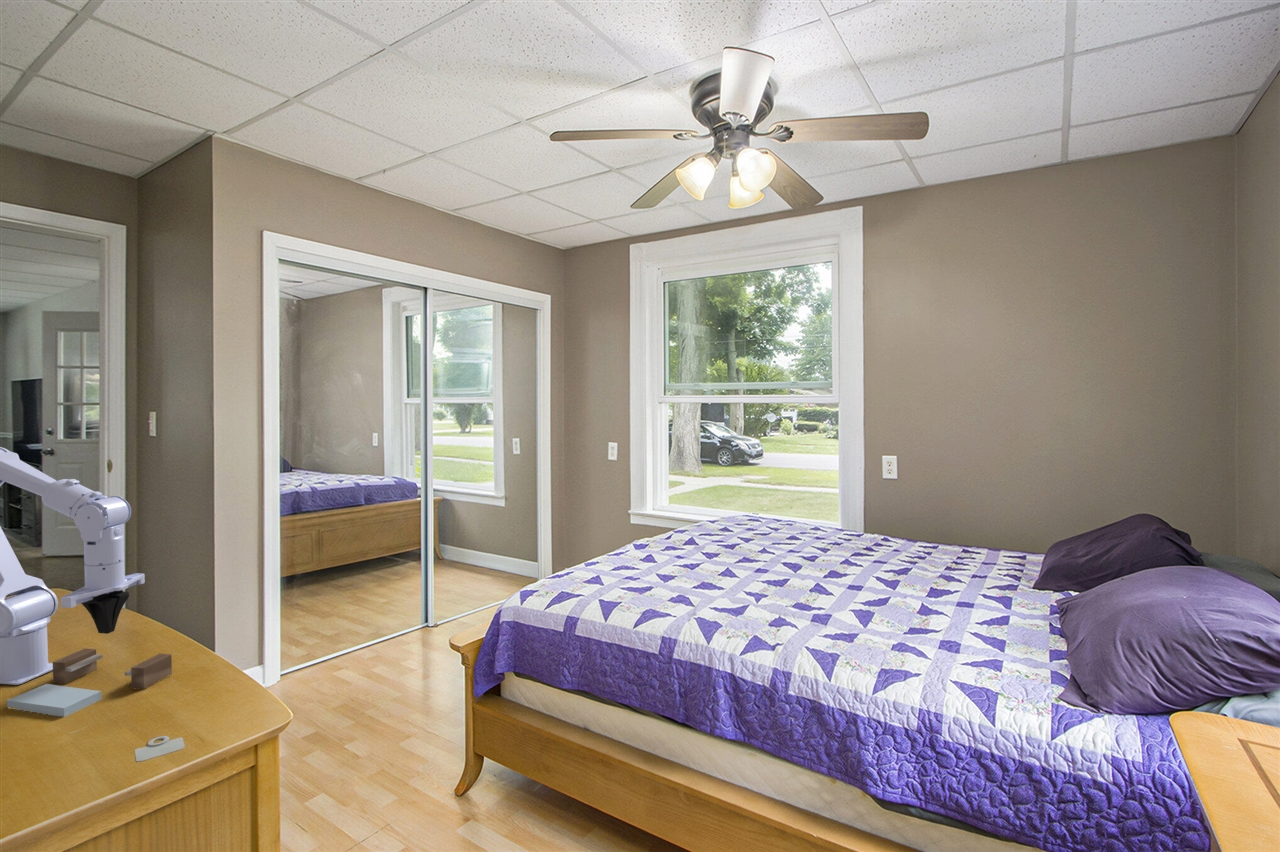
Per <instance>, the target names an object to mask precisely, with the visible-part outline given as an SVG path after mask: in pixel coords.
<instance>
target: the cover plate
mask: <svg viewBox="0 0 1280 852" xmlns="http://www.w3.org/2000/svg"><path fill="white" fill-rule="evenodd" d="M101 700H102V690H94V689H88V688H86V689H85V688H81V687H71V686H64V685H56V684H50V683H45V684H42V685H40V686H38V687H36V688H33V689H31V690H28V691H26V692H23V693H20V694H18V695H16V696H13V697H12V698H9V699H7V700H6V708H7V707H10V708H15V709H19V710H24V711H23V712H25V711H30V712H29V713H32V712H37V713H36V714H39V713H42V714H41V715H46V714H48V716H53V717H54V716H55V717H62V718H65V717H67V716H70V715H71V714H74V713H76V712H78V711H80V710H82V709H84V708H86V707H88V706H91V705H93V704H95V703H97V702H99V701H101ZM92 703H93V704H92ZM31 711H32V712H31Z"/></svg>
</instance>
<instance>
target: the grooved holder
mask: <svg viewBox="0 0 1280 852" xmlns="http://www.w3.org/2000/svg"><path fill="white" fill-rule="evenodd" d="M103 658H104V657H103V654H98V653H97V649H96V648H95V649H94V648H82V649H80V650H78V651H75V652H73V653H71V654H68V655H66V656H64V657H61V658H59V659H56V660H54V661H52V663H53V670H52V680H53V681H52V683H53V684H62V685H66V684H67V683H70V682H72V681H75V680H76V679H79V678H81V677H83V676H86V675H87V674H90V673H91V672H94V671H95V670H97V669H98V665H97V664H98V663H97V662H98V661H99V660H101V659H103ZM172 660H173V659H172V654H171V653H170V654H169V653H157V654H156V655H154V656H152V657H150V658H147V659H146V660H144V661H142V662H139V663H137V664H135V665H133V666H131V667H130V669H128V670H127V671H126V670H125V672H124V676H126V677H127V676H129V677H131V681H130V682H131V689H132V688H133V689H132V690H146V689H148V688H150V687H151V685H152V686H153V685H155V684H157V683H159V682H160V681H159V680H161V679H163V678H165V677H166V678H168V677H169V676H168V675H170V674H173V672H172V670H173V669H172V668H173V666H172V664H173V663H172ZM167 676H168V677H167ZM170 676H171V675H170ZM166 678H165V679H166ZM163 680H164V679H163ZM158 681H159V682H158ZM161 681H162V680H161ZM156 682H157V683H156ZM154 683H155V684H154ZM149 686H150V687H149ZM147 687H148V688H147ZM134 688H136V689H134ZM145 688H146V689H145Z"/></svg>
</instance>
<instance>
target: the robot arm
mask: <svg viewBox="0 0 1280 852" xmlns="http://www.w3.org/2000/svg"><path fill="white" fill-rule="evenodd" d="M5 482H6V483H7V484H9V485H12V486H15V487H18V488H20V489H22V490H25V491H27V492H30V493H33V494H35V495H38V496H40V497H41V501H42V504H43V505H44V506H45V507H48V508H50V509H51V510H53V511H56V512H58V513H60V514H62V515H64V516H66V517H68V518H71V519H73V522H74V523H73V524H74V525H75V526H76V528H77V529H78V530H79V532H80V539H81V540H82V542H83V562H84V563H83V564H84V565H83V567H84V586H82V587H81V588H78V589H76V590H75V591H72V592H70V593H68V594H65V595H63V596H60V608H63V609H64V608H66V609H72V608H75V607H77V606H78V605H80V604H81V605H82V606H83V607H84V608H85V610H87V612H88V613H89V615H90V616H91V618H92V620H93V622H94V624H95V627H96V629H97V630H96V631H97V632H98V634H106V635H108V634H111V633H113V632H115V629H116V626H117V622H118V620H119V616H120V613H121V611H122V609H123V608H124V605H125V604H126V601H127V600H128V599H129V597H130V591H127V590H126V589H128V588H130V587H133V586H136V585H142V584H145V583H146V582H145V581H146V579H145V578H146V576H145V573H139V572H138V573H137V572H135V573H131V574H127V575H125V570H126V568H125V538H124V537H125V534H124V533H125V531H124V529H125V524H126V523H127V522H128V521H129V520H130V518H131V516H132V507H131V505H130V503H129V501H127V500H126V499H124V498H123V497H122V496H121V495H109V496H106V495H103V493H102V492H100V491H95V490H92V489H90V488H88V487H87V486H83V485H82V484H80V480H77V479H75V478H71V479H70V478H68V479H67V478H64V479H59V480H56V479H55V478H53V477H51V476H50V475H47V474H45V473H44V472H43V471H40V470H39V469H37V468H36V467H33V466H32V465H30V464H28V463H26V461H23V460H22V459H20V456H19V454H18V453H17V452H13V451H10V450H9V449H7V448H5V447H1V446H0V487H1V486H2V485H3V484H4V483H5ZM124 590H126V591H124ZM58 608H59V600H58V597H57V595H56V594H55V592H54V591H53V590H51V589H50V588H49V587H47V585H46V584H45V582H44V580H43V579H41V578H39V577H35V576H33V575H29V574H26V573H25V570H24V569H23V567H22V565H21V563H20V561H19V559H18V557H17V556H16V554H15V551H14V550H13V548H12V546H11V544H10V541H9V540H8V539H7V536H6V534H5V533H4V531H3V529H2V526H0V684H1V685H12V686H13V685H14V686H18V685H21V684H24V683H27V682H29V681H30V680H33V679H35V678H37V677H40V676H43V675H45V674H47V673H50V672H53V662H49V648H48V647H49V646H48V645H49V644H48V643H49V641H48V624H49V623H50V622H51V617H52V616H54V614H55V613H56V612H57V611H58Z"/></svg>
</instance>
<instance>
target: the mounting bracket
mask: <svg viewBox="0 0 1280 852" xmlns="http://www.w3.org/2000/svg"><path fill="white" fill-rule="evenodd" d="M159 740H162V741H160V742H156V741H159ZM185 747H186V746H185V742H184V738H183V736H180V737H177V738H173V739H170V737H169V736H168V735H161V736H157V737H153V738H151V739H149V741H148V742H147V744H146V746H143V747H139V748H136V749H135V748H134V756H135V762H139V763H140V762H144V761H148V760H150V759H154V758H157V757H162V756H164V755H167V754H171V753H174V752H178V751H181V750H182V749H184V748H185Z"/></svg>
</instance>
